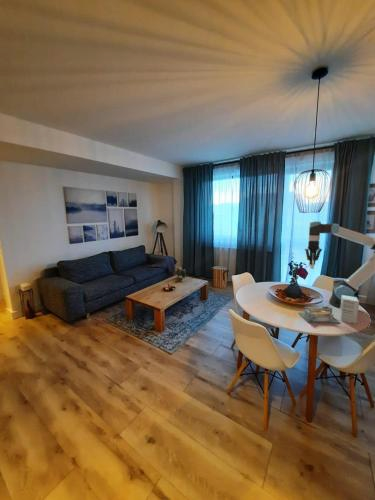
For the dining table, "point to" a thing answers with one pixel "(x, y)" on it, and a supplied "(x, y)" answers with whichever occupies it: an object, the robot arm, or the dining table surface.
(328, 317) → the base plate
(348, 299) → the supplement box
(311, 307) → the strap
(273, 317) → the dining table surface
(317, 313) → the strap
